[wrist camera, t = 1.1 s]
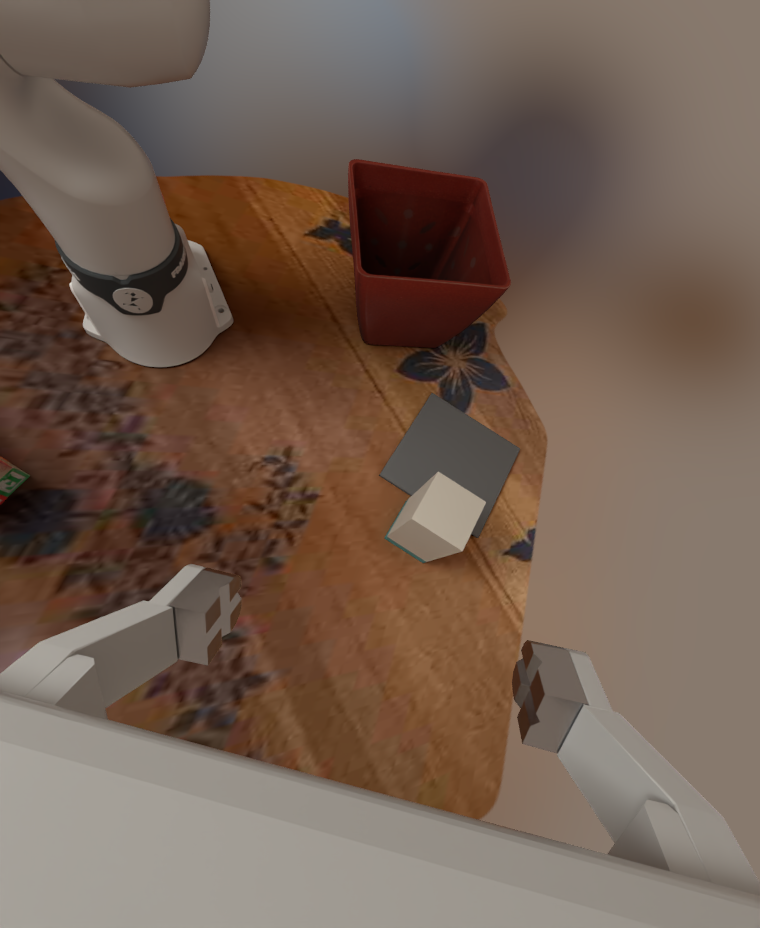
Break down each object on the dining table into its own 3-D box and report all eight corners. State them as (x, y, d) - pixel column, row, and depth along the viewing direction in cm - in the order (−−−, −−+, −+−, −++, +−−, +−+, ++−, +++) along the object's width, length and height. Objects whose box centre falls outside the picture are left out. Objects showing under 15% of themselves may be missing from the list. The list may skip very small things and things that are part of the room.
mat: (476, 538, 52) (478, 537, 51) (379, 475, 52) (379, 474, 52) (518, 449, 58) (520, 448, 58) (430, 394, 58) (431, 392, 58)
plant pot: (341, 362, 57) (357, 273, 42) (336, 264, 63) (348, 156, 48) (459, 367, 61) (513, 288, 46) (443, 275, 67) (486, 178, 52)
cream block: (384, 538, 49) (411, 518, 37) (406, 501, 52) (438, 471, 40) (422, 563, 49) (462, 551, 37) (442, 524, 52) (486, 502, 40)
